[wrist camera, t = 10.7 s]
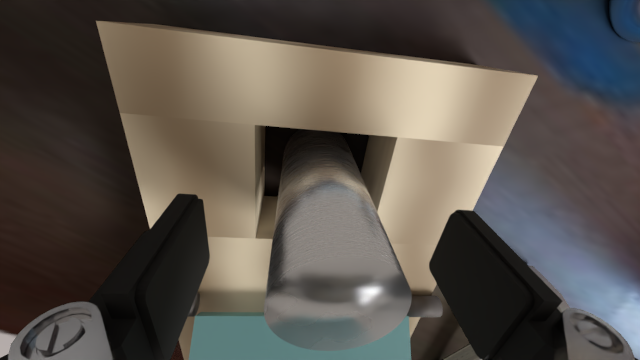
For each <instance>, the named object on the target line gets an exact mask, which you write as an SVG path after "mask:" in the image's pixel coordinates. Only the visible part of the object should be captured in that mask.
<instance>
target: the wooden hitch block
mask: <svg viewBox="0 0 640 360" xmlns="http://www.w3.org/2000/svg"><path fill="white" fill-rule="evenodd" d="M96 23H97V27H98V31H99V35H100V39H101V42H102V46H103V50H104V54H105V58H106V62H107V66H108V69H109V73H110V77H111V81H112V85H113V89H114V92H115V96H116V100H117V104H118V108H119V112H120V116H121V119H122V123H123V127H124V131H125V135H126V139H127V143H128V146H129V150H130V154H131V158H132V162H133V166H134V169H135V173H136V177H137V181H138V185H139V189H140V193H141V196H142V200H143V204H144V208H145V212H146V216H147V219H148V223H149V227H150V229H151V228H152V226H153V225H154V224H155V222H156V221H157V220H158V219H159V217H160V216H161V215H162V213H163V212H164V211H165V209H166V208H167V207H168V206H169V204H170V203H171V202H172V200H173V199H174V198H175V197H176V195H177V194H196V195H197V196H198V199H202V200H203V203H204V212H205V220H206V228H207V236H208V244H209V252H210V259H209V264H208V267H207V269H206V272H205V274H204V277H203V279H202V282H201V284H200V287H199V289H198V292H197V294H196V297H195V299H194V302H193V304H192V307H191V309H190V312H189V314H188V317H187V319H186V322H185V324H184V327H183V329H182V332H181V334H180V337H179V343H180V347H181V350H182V354H183V358H184V360H189V354H190V347H191V340H192V333H193V326H194V320H195V316H196V315H197V314H199V313H200V312H264V303H265V295H266V287H267V279H268V271H269V264H270V256H271V248H272V240H273V232H274V225H275V217H276V209H277V201H278V197H274V196H264V194H265V126H275V127H286V128H297V129H309V130H320V131H332V132H343V133H355V134H366V135H369V138H368V143H367V148H366V152H365V157H364V162H363V166H362V171H361V176H362V178H363V181H364V183H365V185H366V188H367V190H368V192H369V194H370V197H371V199H372V201H373V204H374V206H375V208H376V211H377V213H378V215H379V217H380V220H381V222H382V224H383V227H384V229H385V231H386V234H387V236H388V238H389V240H390V243H391V245H392V247H393V250H394V252H395V254H396V256H397V259H398V261H399V263H400V266H401V268H402V270H403V273H404V275H405V277H406V279H407V282H408V284H409V286H410V290H411V295H412V300H411V306H410V309H409V311H408V313H407V316H409V330H410V337H411V335H412V333H413V331H414V329H415V327H416V325H417V323H418V321H419V319H420V317H441V315H442V312H443V308H442V303H441V301H440V299H439V298H438V297H437V296H431V294H432V292H433V290H434V288H435V286H436V284H437V283H436V281H435V279H434V277H433V275H432V274H431V272H430V269H429V262H430V260H431V257H432V255H433V253H434V251H435V248H436V246H437V244H438V241H439V239H440V237H441V234H442V232H443V230H444V228H445V225H446V223H447V221H448V218H449V216H450V215H451V214H452V213H454V212H455V211H456V210H471V211H472V210H473V208H474V206H475V204H476V202H477V200H478V198H479V196H480V194H481V192H482V190H483V188H484V186H485V184H486V182H487V179H488V177H489V175H490V173H491V171H492V169H493V167H494V165H495V163H496V161H497V159H498V157H499V155H500V153H501V151H502V149H503V147H504V145H505V143H506V141H507V138H508V136H509V134H510V132H511V130H512V128H513V126H514V124H515V122H516V120H517V118H518V116H519V114H520V112H521V110H522V108H523V106H524V104H525V102H526V100H527V97H528V95H529V93H530V91H531V89H532V87H533V85H534V83H535V81H536V79H537V77H538V76H536V75H531V74H525V73H519V72H514V71H508V70H503V69H497V68H491V67H486V66H480V65H473V64H465V63H458V62H450V61H442V60H434V59H426V58H418V57H410V56H402V55H394V54H386V53H378V52H370V51H362V50H355V49H347V48H339V47H331V46H323V45H315V44H307V43H299V42H291V41H283V40H275V39H267V38H259V37H252V36H244V35H236V34H228V33H220V32H212V31H204V30H196V29H188V28H180V27H172V26H164V25H156V24H141V23H125V22H108V21H96Z"/></svg>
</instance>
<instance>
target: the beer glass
mask: <svg viewBox="0 0 640 360" xmlns="http://www.w3.org/2000/svg"><path fill="white" fill-rule="evenodd" d="M609 15H610V20H611V24H612V26H613V28H614V30H615V31H616V33H617V34H618V35H619V36H620V37H622V38H624V39H625V40H628V41H631V42H636V43H640V0H609Z"/></svg>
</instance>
